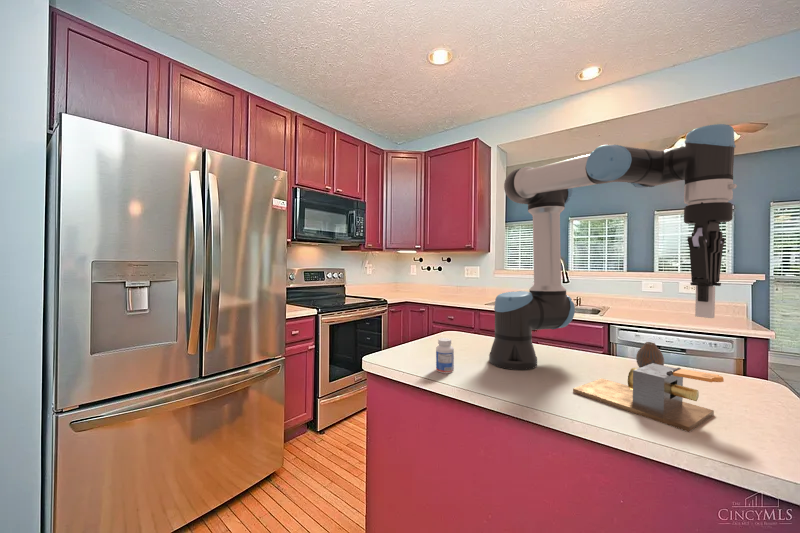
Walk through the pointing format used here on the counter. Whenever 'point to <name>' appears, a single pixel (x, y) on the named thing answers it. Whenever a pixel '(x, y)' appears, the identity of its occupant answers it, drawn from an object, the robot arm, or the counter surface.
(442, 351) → the pill bottle
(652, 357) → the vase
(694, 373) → the orange rod
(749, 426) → the counter surface
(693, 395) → the lynch pin
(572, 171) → the robot arm
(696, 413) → the hitch block
